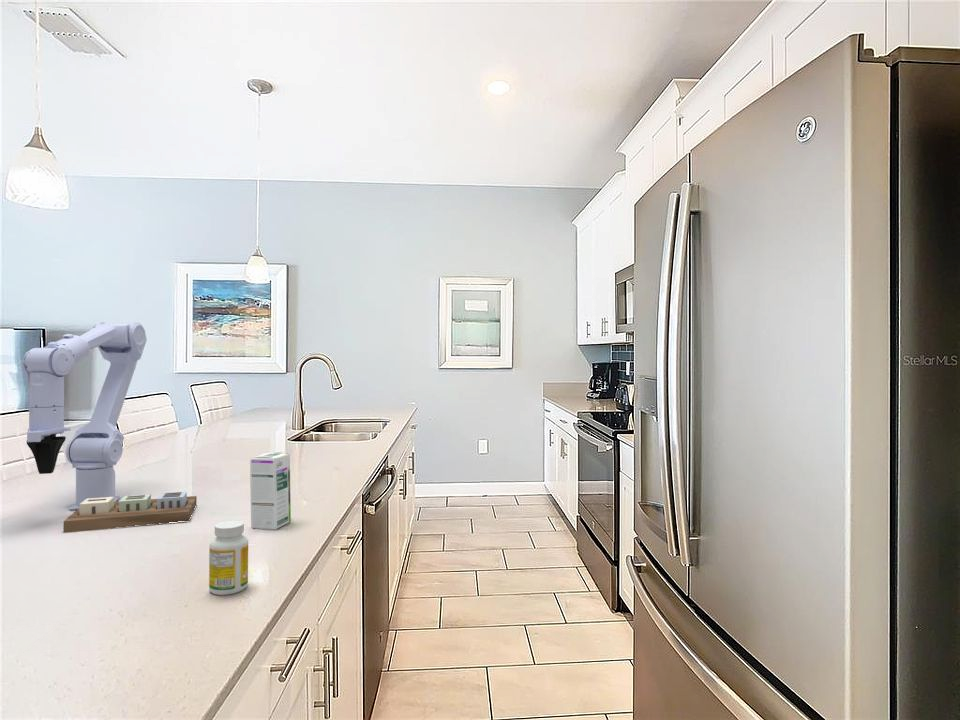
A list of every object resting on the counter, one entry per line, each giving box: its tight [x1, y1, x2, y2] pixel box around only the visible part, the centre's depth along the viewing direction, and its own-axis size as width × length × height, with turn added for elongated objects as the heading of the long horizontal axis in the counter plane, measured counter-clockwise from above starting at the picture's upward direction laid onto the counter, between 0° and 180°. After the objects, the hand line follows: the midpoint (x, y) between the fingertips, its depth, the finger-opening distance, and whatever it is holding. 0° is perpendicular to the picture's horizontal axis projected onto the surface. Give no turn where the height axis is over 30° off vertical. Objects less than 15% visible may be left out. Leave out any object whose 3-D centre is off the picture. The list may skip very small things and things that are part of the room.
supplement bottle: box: [208, 520, 249, 596], centre depth 87 cm, size 5×5×10 cm
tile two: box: [119, 493, 152, 512], centre depth 124 cm, size 5×5×4 cm
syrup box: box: [249, 452, 292, 531], centre depth 119 cm, size 6×6×14 cm
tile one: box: [79, 497, 114, 515], centre depth 122 cm, size 5×5×4 cm
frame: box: [62, 495, 197, 533], centre depth 124 cm, size 14×22×2 cm, turn 110°
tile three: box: [156, 491, 188, 509], centre depth 126 cm, size 5×5×4 cm
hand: (46, 473), depth 119 cm, fingers closed
